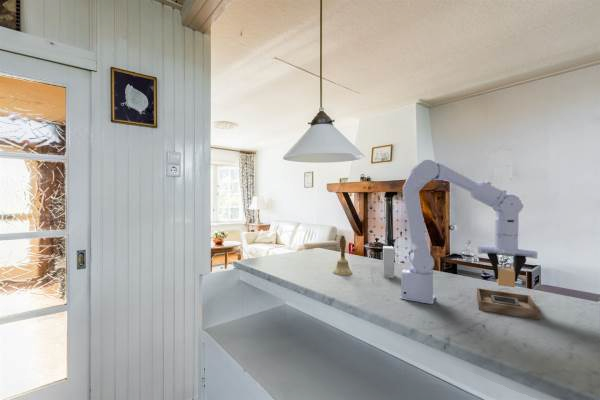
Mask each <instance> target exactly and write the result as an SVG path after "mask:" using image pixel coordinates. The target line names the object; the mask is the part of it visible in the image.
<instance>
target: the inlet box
mask: <svg viewBox="0 0 600 400" xmlns="http://www.w3.org/2000/svg"><path fill="white" fill-rule="evenodd" d="M476 299H477V307H478V310H479V311H480V310H481V311H486V312H491V313H496V314H503V315H509V316H515V317H520V318H526V319H533V320H538V321H541V310H540V308H539V307H538V306H537V304H536V303H535V301H534V300H533V298H532V297H531V295H529V294H528V295H527V294H524V293H523V294H521V293H516V292H515V293H513V292H508V291H499V290H494V289H493V290H492V289H485V288H480V287H477V288H476Z"/></svg>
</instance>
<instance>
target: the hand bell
mask: <svg viewBox="0 0 600 400" xmlns="http://www.w3.org/2000/svg"><path fill="white" fill-rule="evenodd" d="M339 247H340V258H339V259H337V263H336V267H335V268H334V269H333V271H332V273H333V274H335V275H338V276H351V275H352V274H353V271H352V269H350V267H349V260H348V259H346V255H345V253H346V252H345V251H346V247H347V241H346V236H345V235H341V236H340V239H339Z"/></svg>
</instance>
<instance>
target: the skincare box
mask: <svg viewBox="0 0 600 400" xmlns="http://www.w3.org/2000/svg"><path fill="white" fill-rule="evenodd" d="M381 270H382V277H383V278H387V279H395V248H394V246H392V245H391V246H388V245H383V246H382V269H381Z"/></svg>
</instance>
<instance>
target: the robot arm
mask: <svg viewBox="0 0 600 400" xmlns="http://www.w3.org/2000/svg"><path fill="white" fill-rule="evenodd" d="M432 180H433V181H447V182H449V183H450V184H453V185H455V186H456V187H459V188H461V189H463V190H466V191H468V192H469V194H470V197H471V198H472V199H474V200H477V201H478V202H480V203H482V204H483V205H486V206H488V207H490V208H492V209H493V211H495V219H494V246H477V254H478V255H480V254H481V255H482V254H485V255H487V257H488V260H489V261H490V264H491V266H492V269H493V274H494V275H493V276H494V280H497V279H498V268H499V267H498V266H499V256H509V257H513V270H514V271H515V283H517V282H518V279H519V278H518V277H519V275H520V273H521V270H522V268H523V267H524V265H526V262H527V258H531V259H538V251H536V250H527V249H519V217H520V216H519V214H520V212H521V211H522V210H523V208H524V204H523V203H522V200H521V199H520V197H518V196H516V195H515V194H508V193H507V190H505V189H500V188H497V186H496V187H495V186H493V185H492V182H490V181H489V180H487V181H483V180H481V181H478V182H476V181H474V180H472V179H470V178H469V177H466V176H464V175H463V174H461V173H459V172H457V171H455V170H454V169H452V168H450V167H448V166H446V165H444V164H443V163H439V162H437V163H436V162H435V161H434V160H432V159H423V160H422V161H420V162H418V163H417V164H416V165H415V166H414V167H413V168H412V169H411V170H410V172H409V174H408V176H407V178H406V180H405V182H404V184H403V185H402V195H403V196H402V197H403V201H404V207H405V214H406V220H407V227H408V232H409V233H408V234H409V239H410V252H409V257H408V259H409V261H410V262H411V265H410V266H409V267H408V268H407V269H405V268H404V269H402V271H401V279H400V280H401V282H400V285H401V286H400V299H401V300H406V301H407V300H408V301H413V302H418V303H422V304H423V303H424V304H429V305H433V304H434V303H435V298H436V296H435V294H434V267H435V259H434V258H433V256H432V255H431V254H430V249H429V248H430V247H429V246H428V242H427V236H426V230H425V225H424V224H425V223H424V217H423V211H422V205H421V199H420V193H419V192H420V191H421V190H422V189H423V187H425V185H426V184H427V183H429V182H431V181H432Z"/></svg>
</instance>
